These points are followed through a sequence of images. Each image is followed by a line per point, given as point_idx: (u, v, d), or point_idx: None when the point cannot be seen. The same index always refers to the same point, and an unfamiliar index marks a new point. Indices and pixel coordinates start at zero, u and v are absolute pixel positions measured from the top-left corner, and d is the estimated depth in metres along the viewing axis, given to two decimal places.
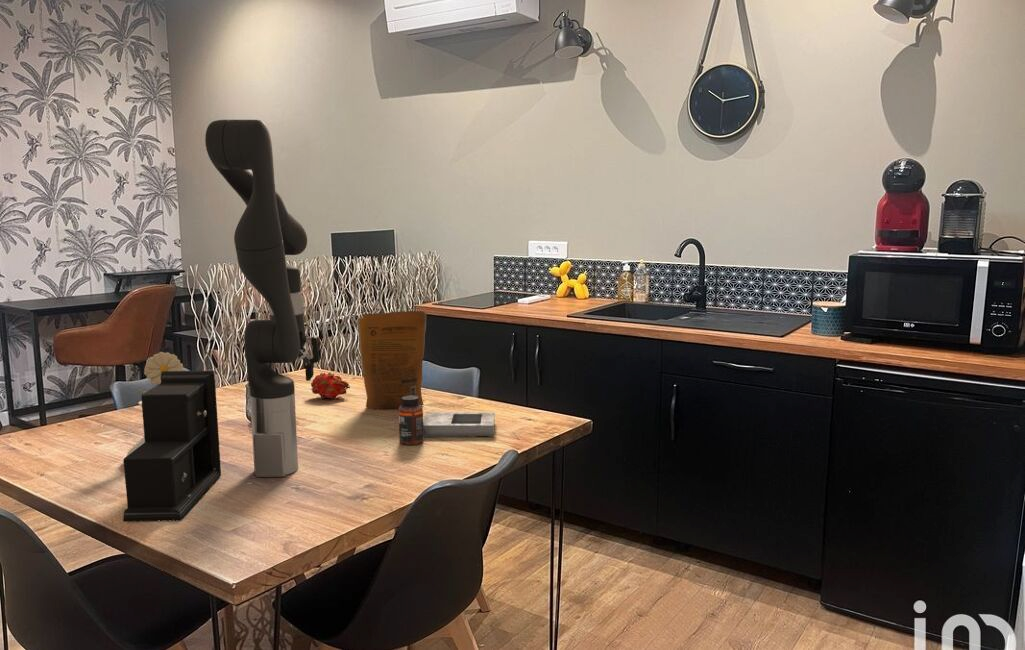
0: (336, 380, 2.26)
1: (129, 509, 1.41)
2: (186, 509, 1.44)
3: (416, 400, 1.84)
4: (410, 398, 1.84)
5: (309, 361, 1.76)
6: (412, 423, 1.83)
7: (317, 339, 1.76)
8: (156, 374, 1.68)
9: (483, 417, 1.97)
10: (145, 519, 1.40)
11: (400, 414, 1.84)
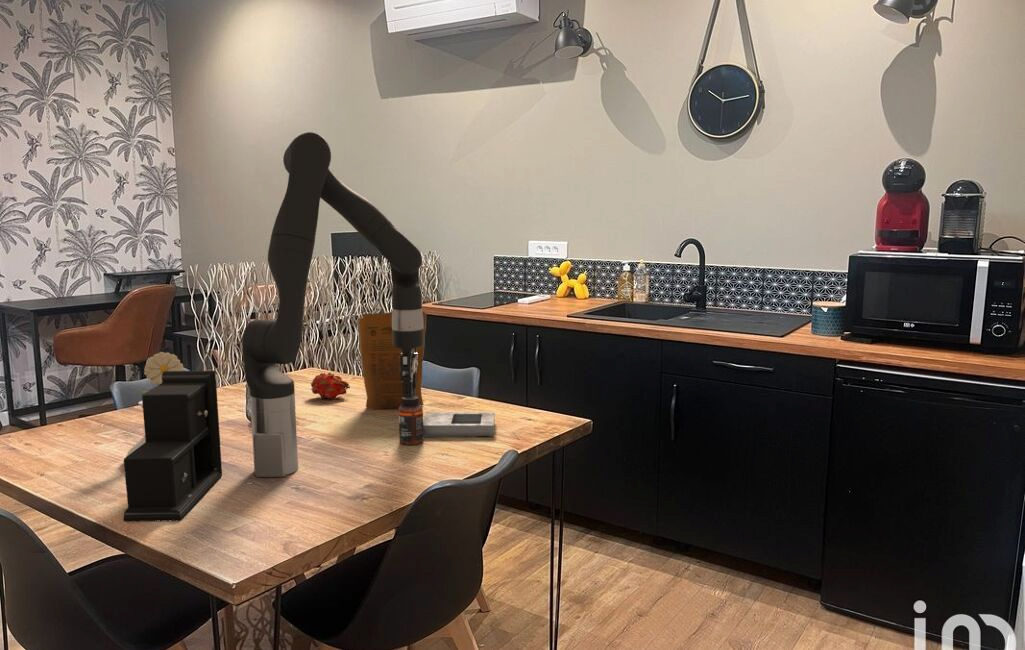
0: (336, 380, 2.26)
1: (129, 509, 1.41)
2: (186, 509, 1.44)
3: (416, 400, 1.84)
4: (410, 398, 1.84)
5: None
6: (412, 423, 1.83)
7: None
8: (156, 374, 1.68)
9: (483, 417, 1.97)
10: (145, 519, 1.40)
11: (400, 414, 1.84)
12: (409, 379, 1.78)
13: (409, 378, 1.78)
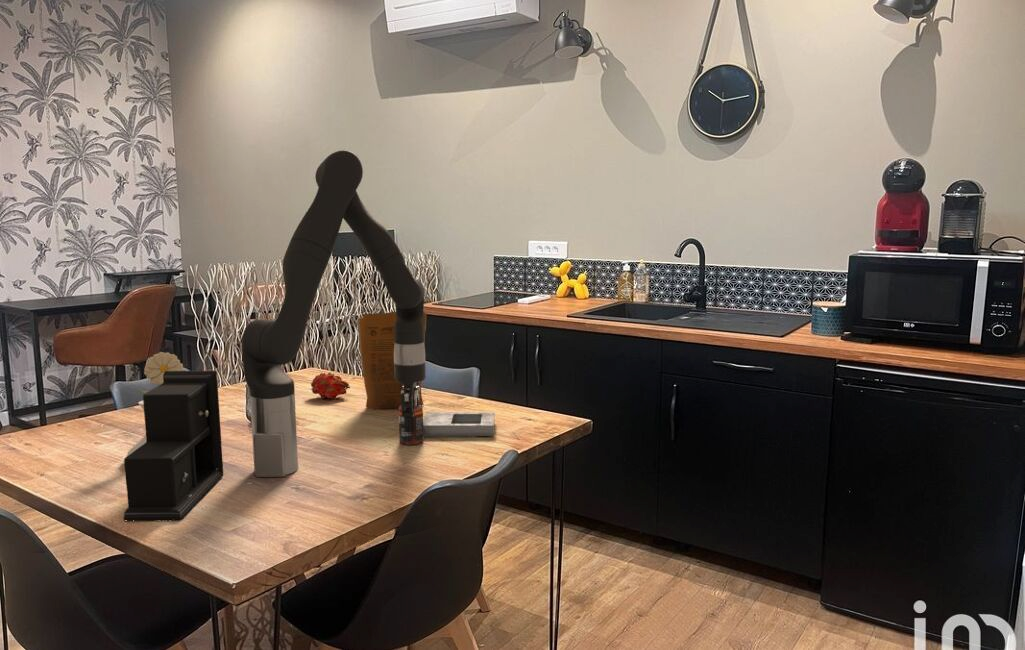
0: (336, 380, 2.26)
1: (130, 509, 1.41)
2: (186, 509, 1.44)
3: None
4: None
5: None
6: None
7: None
8: (156, 374, 1.68)
9: (483, 417, 1.97)
10: (145, 519, 1.40)
11: (400, 414, 1.84)
12: (411, 415, 1.80)
13: (411, 414, 1.80)
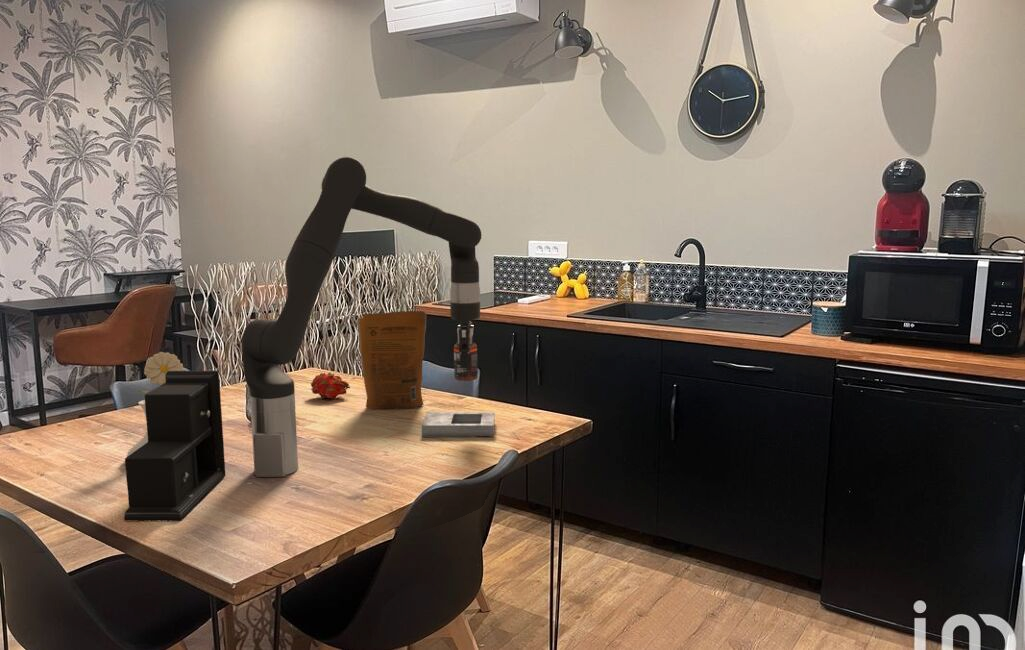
0: (336, 380, 2.26)
1: (130, 508, 1.41)
2: (187, 509, 1.43)
3: None
4: None
5: None
6: None
7: None
8: (156, 374, 1.68)
9: (483, 417, 1.97)
10: (146, 519, 1.40)
11: (456, 351, 1.92)
12: (467, 350, 1.87)
13: (467, 350, 1.87)
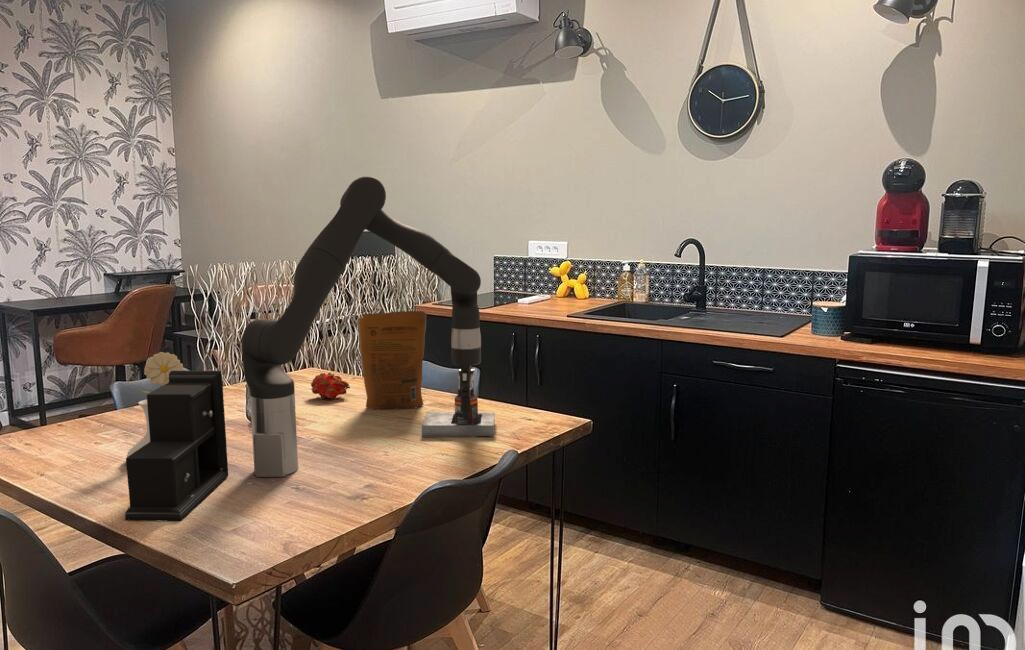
0: (336, 380, 2.26)
1: (131, 508, 1.42)
2: (187, 509, 1.43)
3: (472, 390, 1.94)
4: None
5: None
6: None
7: None
8: (156, 374, 1.68)
9: (483, 417, 1.97)
10: (146, 519, 1.40)
11: (456, 403, 1.94)
12: (468, 394, 1.88)
13: (468, 393, 1.88)
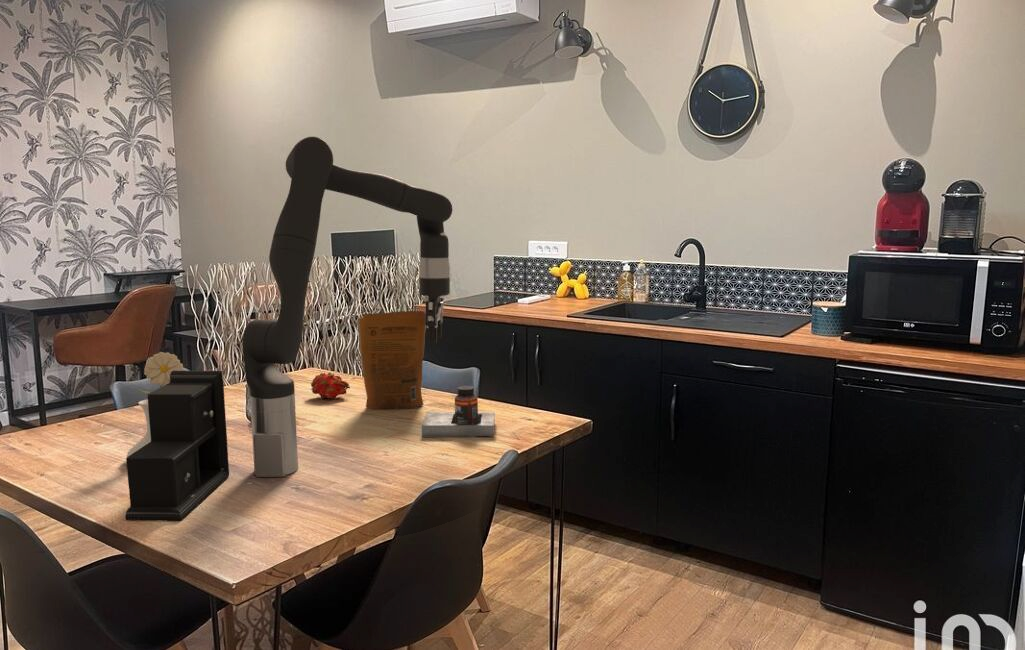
0: (336, 380, 2.26)
1: (132, 508, 1.42)
2: (187, 509, 1.43)
3: (472, 390, 1.94)
4: (466, 388, 1.94)
5: None
6: (468, 411, 1.93)
7: None
8: (156, 374, 1.68)
9: (483, 417, 1.97)
10: (146, 518, 1.40)
11: (457, 403, 1.94)
12: (434, 324, 1.83)
13: (434, 323, 1.83)
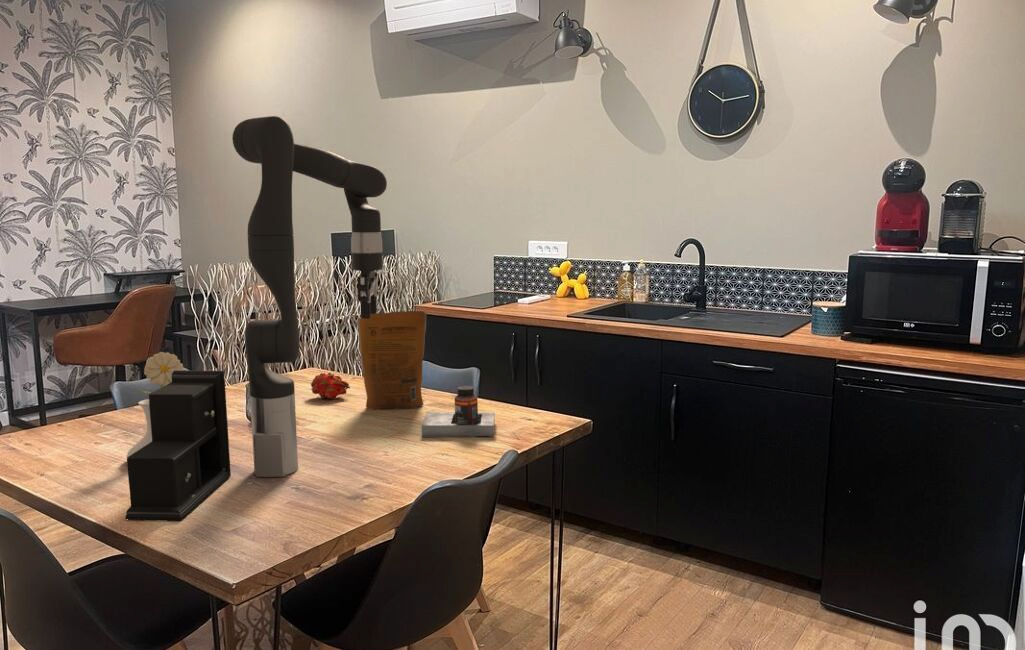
0: (336, 380, 2.26)
1: (132, 508, 1.42)
2: (188, 510, 1.43)
3: (472, 390, 1.94)
4: (466, 388, 1.94)
5: (376, 294, 1.94)
6: (468, 411, 1.93)
7: None
8: (156, 374, 1.68)
9: (483, 417, 1.97)
10: (146, 518, 1.41)
11: (456, 403, 1.94)
12: (366, 299, 1.82)
13: (366, 298, 1.82)
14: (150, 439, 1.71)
